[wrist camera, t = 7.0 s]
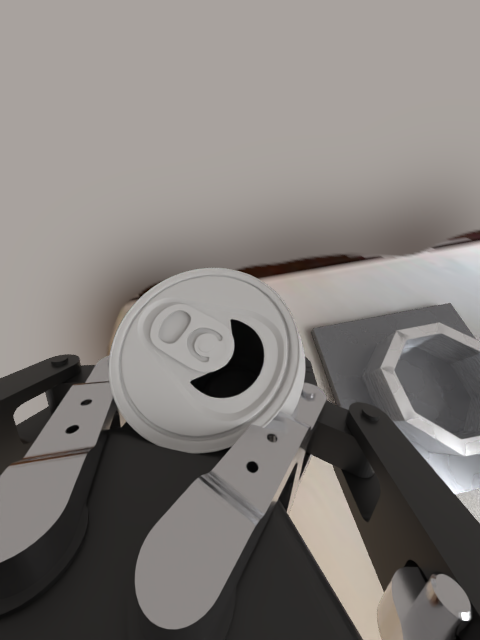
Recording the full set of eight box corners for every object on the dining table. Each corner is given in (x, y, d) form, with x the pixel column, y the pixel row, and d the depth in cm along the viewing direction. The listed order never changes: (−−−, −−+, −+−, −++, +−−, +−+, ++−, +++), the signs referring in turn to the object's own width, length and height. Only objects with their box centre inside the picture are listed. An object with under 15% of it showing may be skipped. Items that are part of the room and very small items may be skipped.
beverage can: (252, 464, 15) (245, 544, 4) (177, 413, 17) (44, 384, 6) (291, 381, 17) (349, 302, 7) (222, 344, 19) (181, 234, 8)
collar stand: (443, 307, 26) (478, 285, 22) (552, 467, 19) (633, 477, 15) (311, 331, 26) (322, 313, 21) (372, 506, 18) (407, 528, 14)
